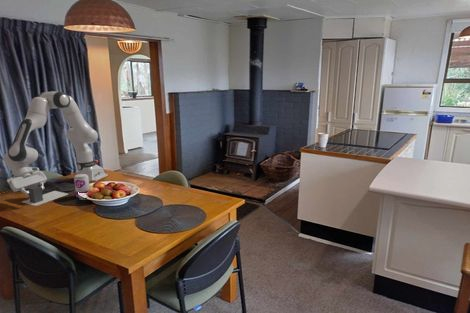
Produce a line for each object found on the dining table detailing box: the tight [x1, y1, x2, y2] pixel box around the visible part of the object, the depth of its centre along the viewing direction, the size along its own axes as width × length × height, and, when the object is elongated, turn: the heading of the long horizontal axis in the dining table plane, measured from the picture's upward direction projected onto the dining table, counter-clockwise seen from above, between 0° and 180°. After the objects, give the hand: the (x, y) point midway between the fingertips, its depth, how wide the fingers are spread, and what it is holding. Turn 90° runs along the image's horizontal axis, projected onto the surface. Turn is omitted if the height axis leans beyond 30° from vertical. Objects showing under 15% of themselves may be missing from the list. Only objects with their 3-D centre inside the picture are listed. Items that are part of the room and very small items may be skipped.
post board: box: [22, 190, 69, 207], centre depth 205 cm, size 22×14×8 cm, turn 154°
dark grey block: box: [27, 185, 44, 203], centre depth 199 cm, size 5×5×9 cm
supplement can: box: [73, 173, 91, 201], centre depth 208 cm, size 8×8×15 cm
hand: (35, 191), depth 199 cm, fingers open, 8 cm apart
